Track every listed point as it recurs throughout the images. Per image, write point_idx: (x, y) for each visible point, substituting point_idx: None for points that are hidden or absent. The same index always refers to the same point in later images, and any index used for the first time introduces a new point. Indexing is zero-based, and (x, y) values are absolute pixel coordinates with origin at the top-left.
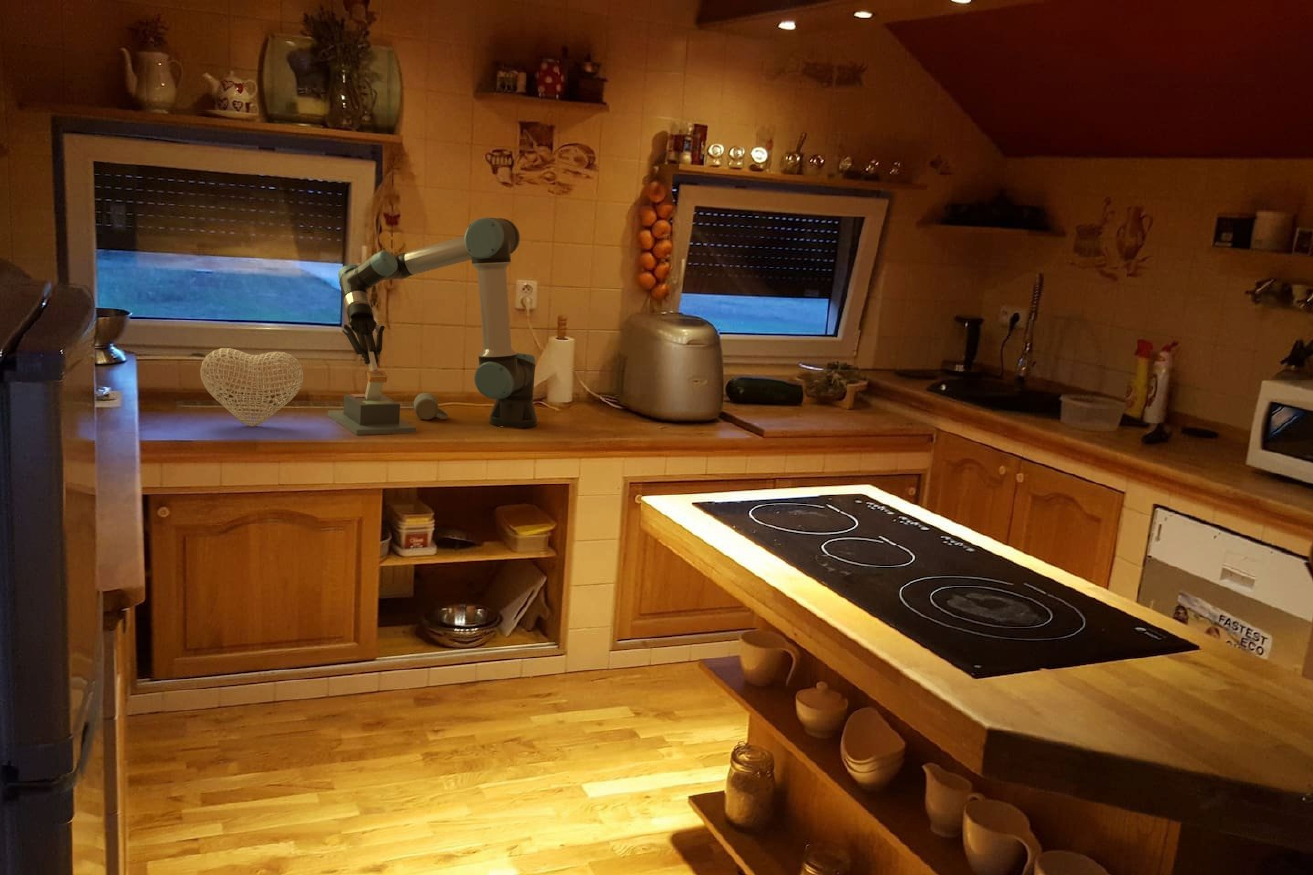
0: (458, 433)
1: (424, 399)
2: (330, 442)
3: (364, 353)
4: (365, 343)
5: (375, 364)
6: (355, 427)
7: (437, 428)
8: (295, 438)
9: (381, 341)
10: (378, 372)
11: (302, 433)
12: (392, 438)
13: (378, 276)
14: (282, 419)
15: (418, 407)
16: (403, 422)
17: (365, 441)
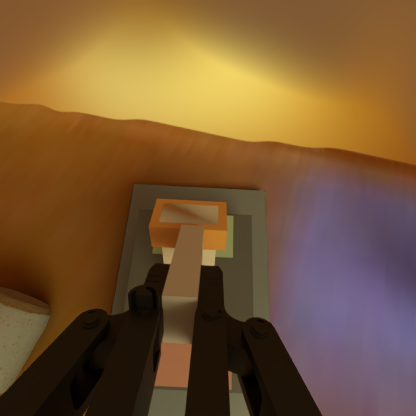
0: (57, 164)
1: (4, 302)
2: (323, 154)
3: (223, 308)
4: (200, 376)
5: (183, 239)
6: (260, 211)
7: (69, 214)
8: (383, 195)
9: (7, 398)
10: (182, 220)
11: (366, 233)
12: (204, 156)
13: None
14: (405, 406)
15: (38, 305)
16: (133, 237)
17: (260, 147)
